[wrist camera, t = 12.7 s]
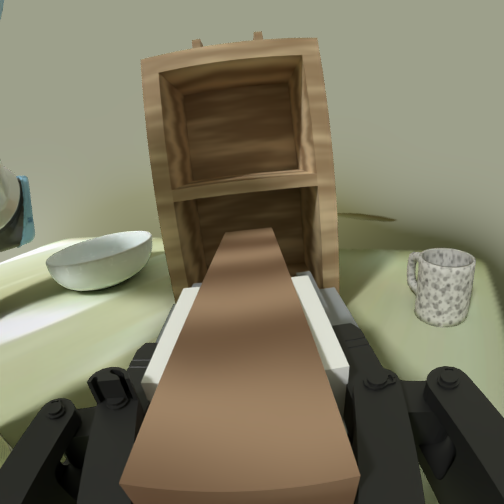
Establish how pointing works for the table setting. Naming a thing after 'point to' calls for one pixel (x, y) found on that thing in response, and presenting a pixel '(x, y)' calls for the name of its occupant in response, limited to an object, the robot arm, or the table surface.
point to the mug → (441, 285)
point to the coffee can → (4, 450)
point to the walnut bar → (243, 396)
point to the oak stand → (242, 153)
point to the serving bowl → (101, 260)
